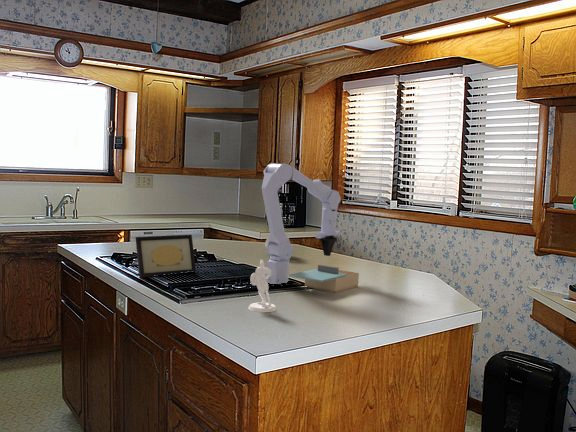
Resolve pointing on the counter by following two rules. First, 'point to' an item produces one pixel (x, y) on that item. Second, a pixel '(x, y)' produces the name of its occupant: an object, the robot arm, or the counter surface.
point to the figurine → (262, 289)
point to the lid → (320, 274)
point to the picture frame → (165, 255)
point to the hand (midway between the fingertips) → (327, 255)
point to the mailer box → (336, 282)
